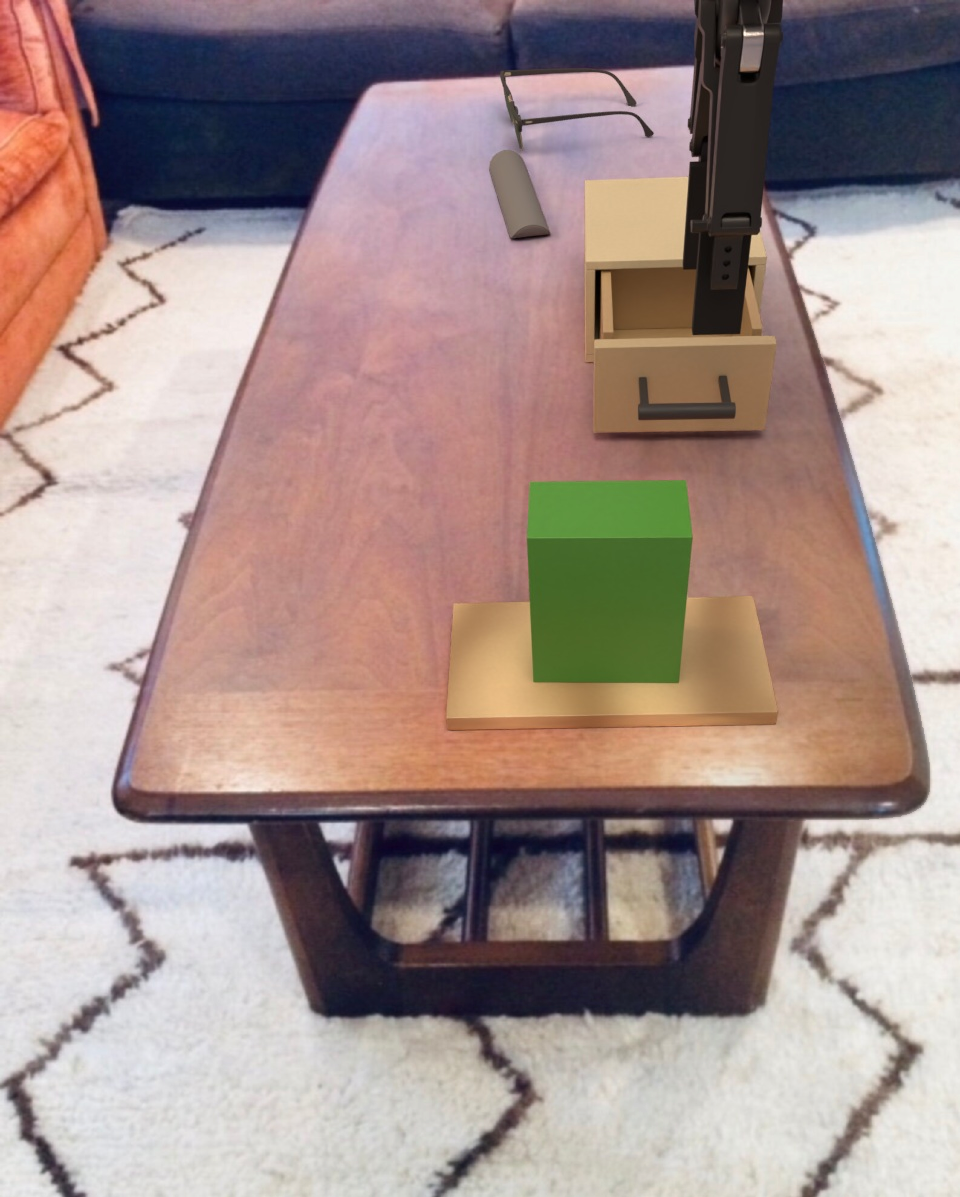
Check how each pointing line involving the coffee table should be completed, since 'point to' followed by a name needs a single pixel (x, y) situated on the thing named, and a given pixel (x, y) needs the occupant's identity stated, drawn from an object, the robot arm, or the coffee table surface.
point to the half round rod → (517, 195)
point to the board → (702, 697)
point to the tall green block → (608, 579)
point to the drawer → (675, 359)
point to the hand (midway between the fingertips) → (710, 296)
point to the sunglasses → (522, 122)
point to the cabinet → (640, 236)
